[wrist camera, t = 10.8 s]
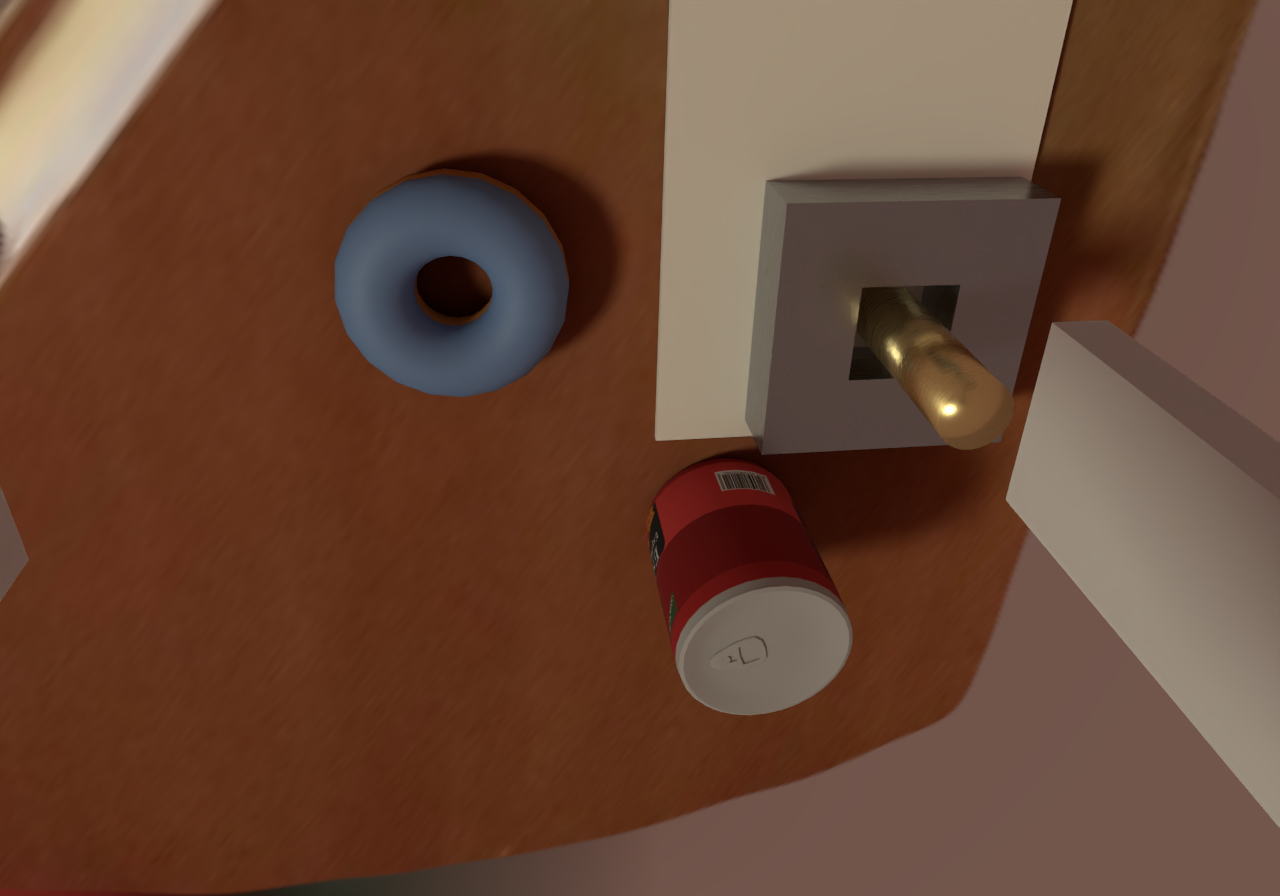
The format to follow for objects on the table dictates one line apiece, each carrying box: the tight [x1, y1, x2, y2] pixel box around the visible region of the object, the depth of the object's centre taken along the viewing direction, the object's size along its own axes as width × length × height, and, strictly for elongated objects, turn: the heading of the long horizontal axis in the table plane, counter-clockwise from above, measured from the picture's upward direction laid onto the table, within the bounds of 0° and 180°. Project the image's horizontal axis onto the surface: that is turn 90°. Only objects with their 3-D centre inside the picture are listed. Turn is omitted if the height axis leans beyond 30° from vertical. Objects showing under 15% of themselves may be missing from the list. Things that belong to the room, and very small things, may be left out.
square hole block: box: [745, 177, 1061, 455], centre depth 44 cm, size 12×12×4 cm
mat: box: [655, 0, 1073, 441], centre depth 42 cm, size 26×17×1 cm, turn 179°
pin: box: [856, 286, 1014, 450], centre depth 41 cm, size 3×3×11 cm
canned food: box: [646, 458, 853, 715], centre depth 46 cm, size 8×8×11 cm
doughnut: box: [335, 168, 570, 397], centre depth 41 cm, size 10×10×5 cm
